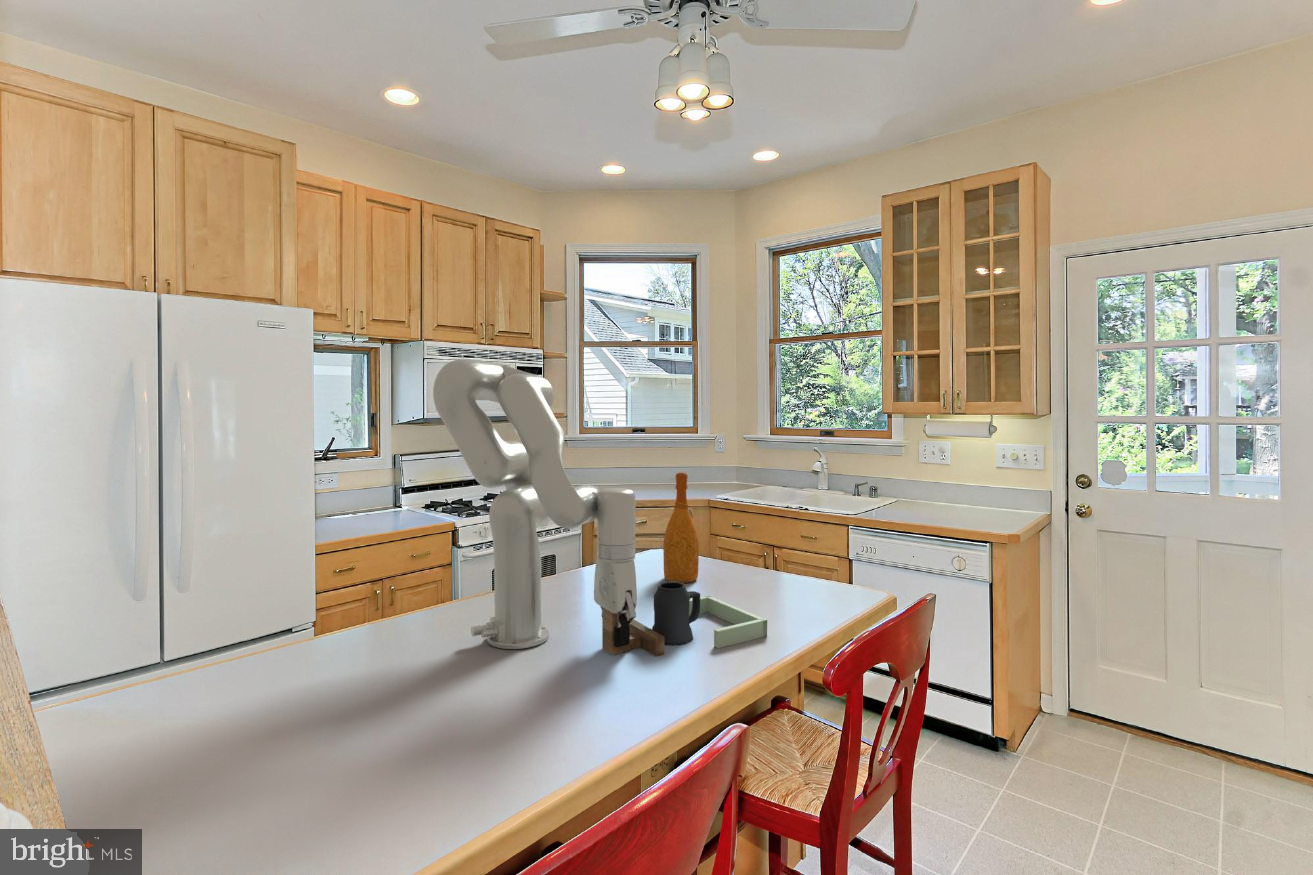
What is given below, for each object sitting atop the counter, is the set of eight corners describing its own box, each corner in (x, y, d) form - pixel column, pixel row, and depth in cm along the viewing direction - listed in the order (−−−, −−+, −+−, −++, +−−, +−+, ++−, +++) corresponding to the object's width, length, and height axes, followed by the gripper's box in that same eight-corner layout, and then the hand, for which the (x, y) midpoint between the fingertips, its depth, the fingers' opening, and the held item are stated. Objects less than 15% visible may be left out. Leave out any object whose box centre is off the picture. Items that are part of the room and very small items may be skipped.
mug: (668, 649, 131) (669, 593, 130) (641, 636, 138) (641, 583, 138) (712, 635, 139) (712, 583, 138) (683, 624, 146) (684, 574, 145)
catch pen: (717, 648, 131) (717, 631, 131) (662, 619, 149) (662, 604, 148) (767, 636, 138) (767, 619, 138) (708, 610, 156) (708, 595, 155)
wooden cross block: (624, 663, 123) (624, 616, 123) (591, 640, 135) (591, 597, 135) (664, 654, 128) (664, 609, 128) (629, 632, 140) (629, 591, 140)
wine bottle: (699, 584, 178) (700, 474, 176) (663, 584, 178) (663, 474, 176) (697, 575, 187) (698, 470, 186) (663, 574, 188) (664, 470, 186)
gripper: (580, 545, 135) (580, 632, 136) (620, 562, 120) (619, 659, 121) (612, 541, 139) (612, 626, 139) (654, 557, 124) (654, 651, 125)
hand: (616, 640), depth 130 cm, fingers closed on wooden cross block, 4 cm apart
